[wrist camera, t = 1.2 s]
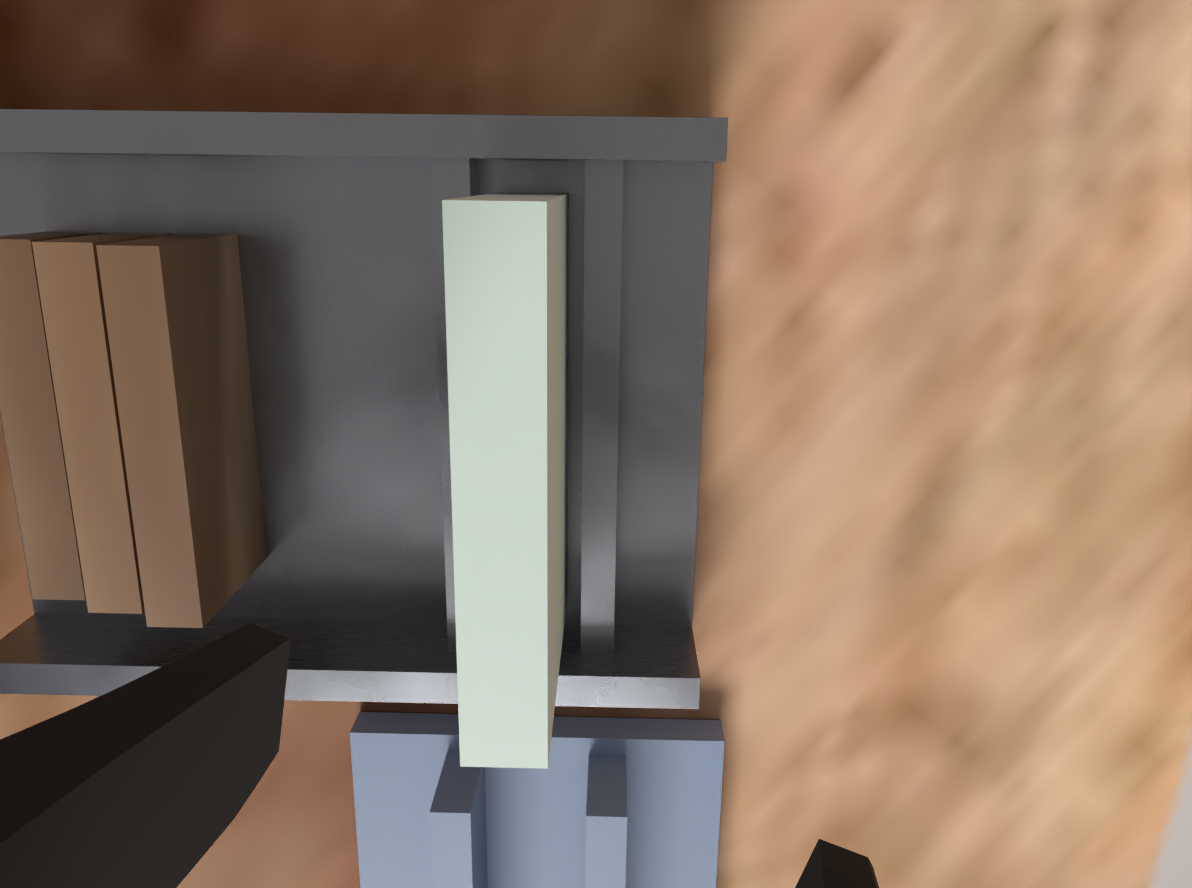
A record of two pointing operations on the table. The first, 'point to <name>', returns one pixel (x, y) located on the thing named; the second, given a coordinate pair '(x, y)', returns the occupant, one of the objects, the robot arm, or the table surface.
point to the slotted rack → (406, 380)
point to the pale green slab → (508, 466)
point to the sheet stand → (538, 806)
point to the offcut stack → (130, 420)
